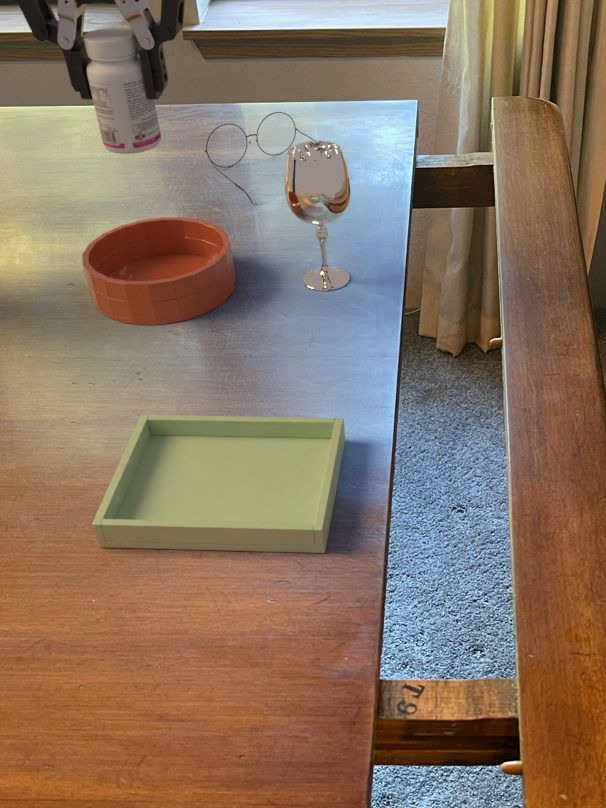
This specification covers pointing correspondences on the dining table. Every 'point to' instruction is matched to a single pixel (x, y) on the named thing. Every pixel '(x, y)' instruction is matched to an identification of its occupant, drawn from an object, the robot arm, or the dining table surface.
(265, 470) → the tray
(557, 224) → the dining table surface
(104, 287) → the bowl
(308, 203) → the wineglass
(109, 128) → the pill bottle
